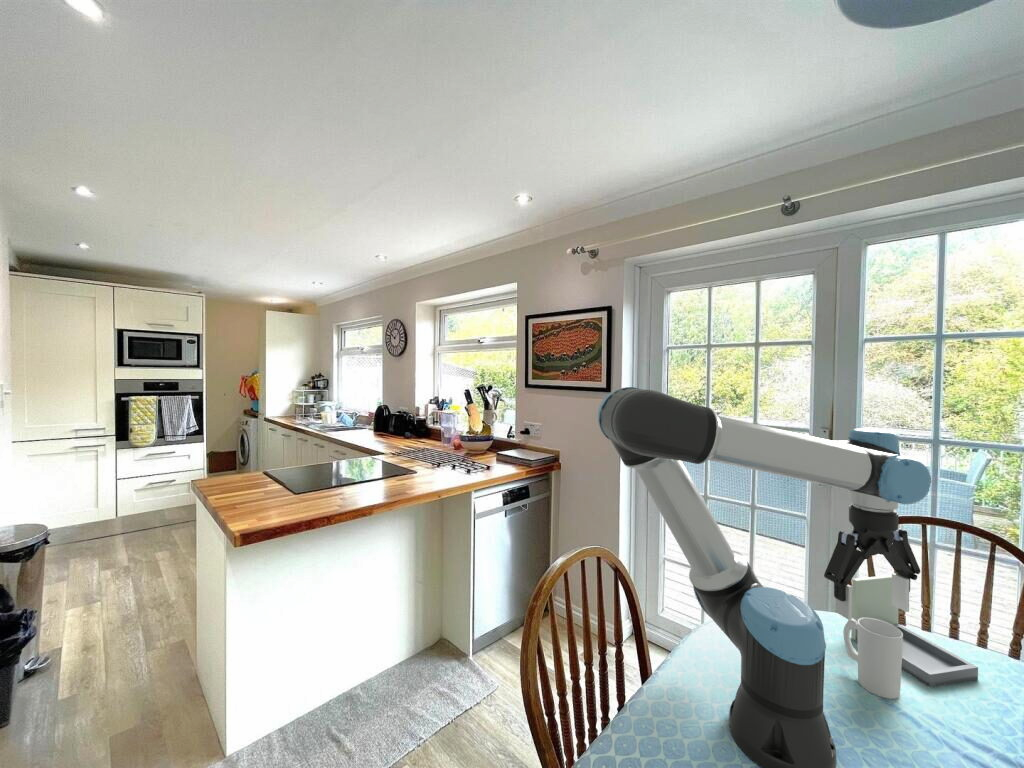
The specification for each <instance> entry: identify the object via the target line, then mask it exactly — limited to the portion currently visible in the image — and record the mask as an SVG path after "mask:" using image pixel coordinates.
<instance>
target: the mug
mask: <svg viewBox="0 0 1024 768" xmlns="http://www.w3.org/2000/svg"><path fill="white" fill-rule="evenodd" d="M852 628H855V629H857V630H858V642H857V651H856V649H855V648H854V646H853V643H852V640H851V636H850V635H851V629H852ZM842 633H843V642H844V645H845V647H846V650H847V654H848V656H849V658H851V659H853V660H854V661H855V662H857V680H858V683H859V684H860V686H862V687H863V688H864V689H865V690H866V691H868V692H870V693H871V694H874V695H875V696H879V697H880V698H884V699H888V700H892V699H893V700H894V699H898V698H900V695H901V685H902V670H901V667H902V648H903V633H902V632H901V631H900V630H899V629H898V628H897V627H895V626H893V625H891V624H889V623H887V622H884V621H881V620H878V619H873V618H860V619H858V622H857V621H856V620H855V619H853V618H852V619H851V620H848V619H847V622H846V623H845V625H844V627H843V632H842Z"/></svg>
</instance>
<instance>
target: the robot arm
mask: <svg viewBox="0 0 1024 768" xmlns="http://www.w3.org/2000/svg"><path fill="white" fill-rule="evenodd" d="M597 423H598V426H599V429H600V431H601V433H602V435H603V436H605V438H607V439H608V440H609V441H610V442H611V443H612V445H613V447H614V449H615V451H616V452H617V454H618V455H619V457H620V460H621V461H622V463H623V464H624V466H625V467H627V468H631V469H635V471H636V473H638V476H639V477H640V479H641V481H642V482H643V484H644V486H645V488H646V490H647V491H648V493H649V495H650V496H651V499H652V500H653V502H654V504H655V506H656V507H657V509H658V511H659V513H660V514H661V516H662V519H664V522H665V523H666V525H667V527H668V529H669V530H670V532H671V533H672V536H673V537H674V540H675V541H676V543H677V544H678V547H679V548H680V550H681V552H682V553H683V555H684V557H685V558H686V561H687V562H688V564H689V566H690V569H689V573H688V576H689V577H688V579H689V581H690V583H691V584H692V587H693V588H692V589H693V593H694V596H695V597H696V600H697V602H698V604H699V606H700V607H701V608H702V610H703V611H704V612H705V614H706V615H707V616H708V617H709V618H710V619H711V620H712V621H713V622H714V623H715V624H716V625H717V627H719V629H720V630H721V631H722V632H723V633H724V635H725V636H726V637H727V638H728V639H729V640H730V642H731V643H732V644H733V645H734V646H735V647H736V648H737V650H738V651H739V653H740V658H741V660H740V684H739V686H738V687H737V691H736V694H735V697H734V699H733V700H732V702H731V704H730V707H729V712H728V716H729V718H728V727H729V732H730V734H731V737H732V739H733V740H734V742H735V743H736V745H737V747H738V748H739V749H740V750H741V752H743V753H744V755H746V756H747V758H749V759H750V760H751V761H752V762H754V763H755V764H756V763H757V764H756V765H758V766H759V765H760V766H759V767H761V766H762V767H764V768H837V750H836V746H835V743H834V739H833V738H832V734H831V730H830V727H829V725H828V721H827V719H826V716H825V712H824V691H825V689H824V688H825V687H824V686H825V660H826V659H825V657H826V650H827V649H826V647H827V645H826V639H825V630H824V624H823V622H822V620H821V618H820V617H819V615H818V614H817V612H816V611H815V610H814V609H813V608H812V606H810V605H809V604H808V603H807V602H806V601H803V600H802V599H801V598H799V597H797V596H795V595H793V594H787V593H786V591H784V590H781V589H778V588H773V587H768V586H767V587H766V586H764V585H762V583H761V582H760V581H759V579H758V578H757V576H756V574H755V572H754V570H753V569H752V567H751V565H750V563H749V562H748V560H747V558H746V557H745V556H744V554H742V552H739V551H736V550H733V549H732V548H731V545H730V544H729V542H728V540H727V538H726V537H725V535H724V533H723V531H722V529H721V528H720V526H719V524H718V523H717V520H716V519H715V517H714V516H713V514H712V512H711V510H710V508H709V506H708V505H707V503H706V501H705V499H704V497H703V495H702V494H701V492H700V490H699V488H698V487H697V486H696V483H695V481H694V480H693V478H692V477H691V475H690V472H689V471H688V469H687V468H686V465H685V464H684V463H685V462H686V463H691V464H695V465H702V464H704V463H706V462H707V461H712V462H714V463H715V462H716V463H721V464H725V465H730V466H734V467H738V468H739V467H740V468H745V469H748V470H749V469H750V470H753V471H758V472H763V473H766V474H767V473H768V474H771V475H772V474H773V475H777V476H780V477H781V476H782V477H786V478H790V479H796V480H801V481H805V482H810V483H814V484H820V485H824V486H829V487H834V488H838V489H843V490H847V491H848V502H849V503H851V504H850V505H848V521H849V523H850V524H851V526H852V527H853V529H852V532H846V531H843V530H840V531H839V532H838V535H837V543H836V544H835V548H834V550H833V552H832V555H831V558H830V559H829V562H828V564H827V566H826V569H825V571H824V573H823V577H824V578H825V579H826V580H829V581H831V582H832V583H833V597H834V598H835V613H836V614H837V615H839V616H841V617H843V618H845V619H846V620H847V621H848V620H851V619H852V585H851V584H850V583H851V580H852V579H854V576H855V575H856V574H857V572H858V570H859V569H860V567H862V564H863V563H864V562H865V560H869V559H870V557H872V556H876V555H883V557H884V558H885V559H886V561H887V562H888V563H889V565H890V566H891V567H892V568H893V570H894V571H895V572H896V573H895V572H894V573H891V575H892V605H893V606H895V607H897V608H899V610H900V611H903V612H905V613H907V612H908V613H909V612H910V592H911V580H913V581H917V579H918V575H919V574H920V573H921V569H920V566H919V564H918V561H917V559H916V556H915V554H914V552H913V550H912V547H911V545H910V543H909V534H908V530H905V529H902V528H900V527H899V512H898V509H899V504H901V505H913V504H916V503H919V502H920V501H922V500H924V499H925V498H926V496H927V495H928V494H929V492H930V488H931V484H932V477H931V473H930V471H929V469H928V468H927V466H926V465H925V464H924V463H922V462H921V461H919V460H918V459H915V458H912V457H907V456H905V455H903V454H901V451H900V445H899V444H900V443H899V441H900V440H899V436H898V434H897V433H896V432H894V431H891V430H888V429H880V428H865V427H864V428H860V427H859V428H853V429H851V430H849V435H848V438H847V439H843V440H842V439H841V440H839V439H837V440H833V439H832V440H831V439H826V438H820V437H818V436H817V437H816V436H813V435H807V434H802V433H799V432H794V431H793V432H792V431H789V430H785V429H781V428H776V427H771V426H766V425H763V424H758V423H752V422H749V421H743V420H739V419H734V418H730V417H726V416H721V415H717V413H716V412H715V411H714V409H712V408H711V407H707V406H704V405H700V404H695V403H693V402H692V403H691V402H689V401H686V400H684V399H683V400H682V399H679V398H676V397H675V396H671V395H669V394H666V393H663V392H660V391H658V390H653V389H642V388H639V387H634V386H633V387H632V386H629V387H628V386H626V387H622V388H618V389H616V390H614V391H612V392H610V393H608V394H607V395H606V396H605V397H604V399H603V400H602V401H601V403H600V405H599V408H598V411H597ZM762 767H761V768H762Z"/></svg>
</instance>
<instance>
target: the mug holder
mask: <svg viewBox="0 0 1024 768" xmlns="http://www.w3.org/2000/svg"><path fill="white" fill-rule="evenodd" d="M851 580H852V582H851V586H852V618H853V619H855V620H856V621H857V622H858V619H860V618H873V619H878V620H881V621H884V622H887V623H889V624H891V625H893V626H895V627H897V628H898V629H899V630H900V631H901V632H902V633H903V648H902V667H901V671H903V672H904V673H905V674H908V675H909V676H911V677H912V678H914V679H915V680H917V681H918V682H920V683H921V684H924V685H925V686H926V687H928V688H929V689H930V688H935V687H936V688H937V687H942V686H948V685H954V684H961V683H967V682H973V681H978V679H979V666H977V665H975V664H973V663H971V662H969V661H968V660H965V659H963V658H962V657H960V656H958V655H957V654H955V653H952V652H951V651H949V650H947V649H945V648H943V647H942V646H940V645H938V644H936V643H934V642H932V641H931V640H929V639H926V638H925V637H923V636H921V635H920V634H918V633H916V632H914V631H912V630H910V629H908V628H907V627H904V626H903V625H901V624H899V612H900V611H899V610H900V609H899V608H897V607H895V606H893V605H892V574H887V575H877V576H867V577H857V578H852V579H851ZM850 635H851V636H850V639H853V640H854V641H856V642H857V643H858V630H857V629H855V628H852V629H851V631H850Z"/></svg>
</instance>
